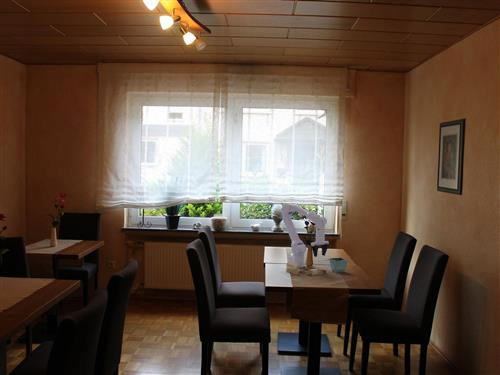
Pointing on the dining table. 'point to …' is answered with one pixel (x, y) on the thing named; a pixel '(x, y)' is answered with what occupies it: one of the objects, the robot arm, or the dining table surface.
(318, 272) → the offcut board lower
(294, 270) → the tall block
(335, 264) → the flower pot
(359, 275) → the dining table surface
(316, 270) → the offcut board upper
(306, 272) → the rack
